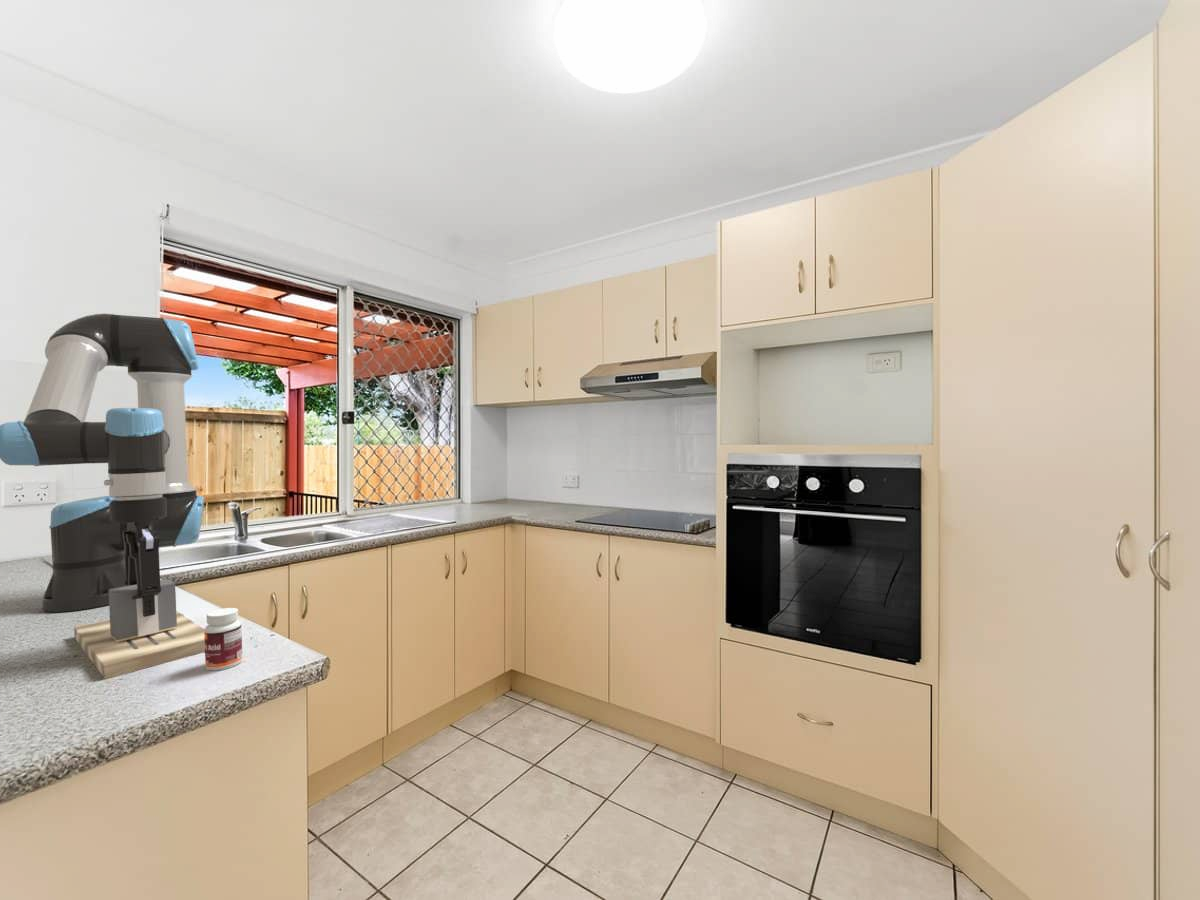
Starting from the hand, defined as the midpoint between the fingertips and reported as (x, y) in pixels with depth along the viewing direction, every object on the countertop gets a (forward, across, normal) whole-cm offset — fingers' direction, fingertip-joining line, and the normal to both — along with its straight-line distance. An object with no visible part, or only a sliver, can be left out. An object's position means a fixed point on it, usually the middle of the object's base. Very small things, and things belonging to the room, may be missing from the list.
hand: (144, 630), depth 93 cm
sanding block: (0, 0, 0) cm, 0 cm away
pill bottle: (+3, +22, +6) cm, 22 cm away
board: (+3, -1, 0) cm, 3 cm away
